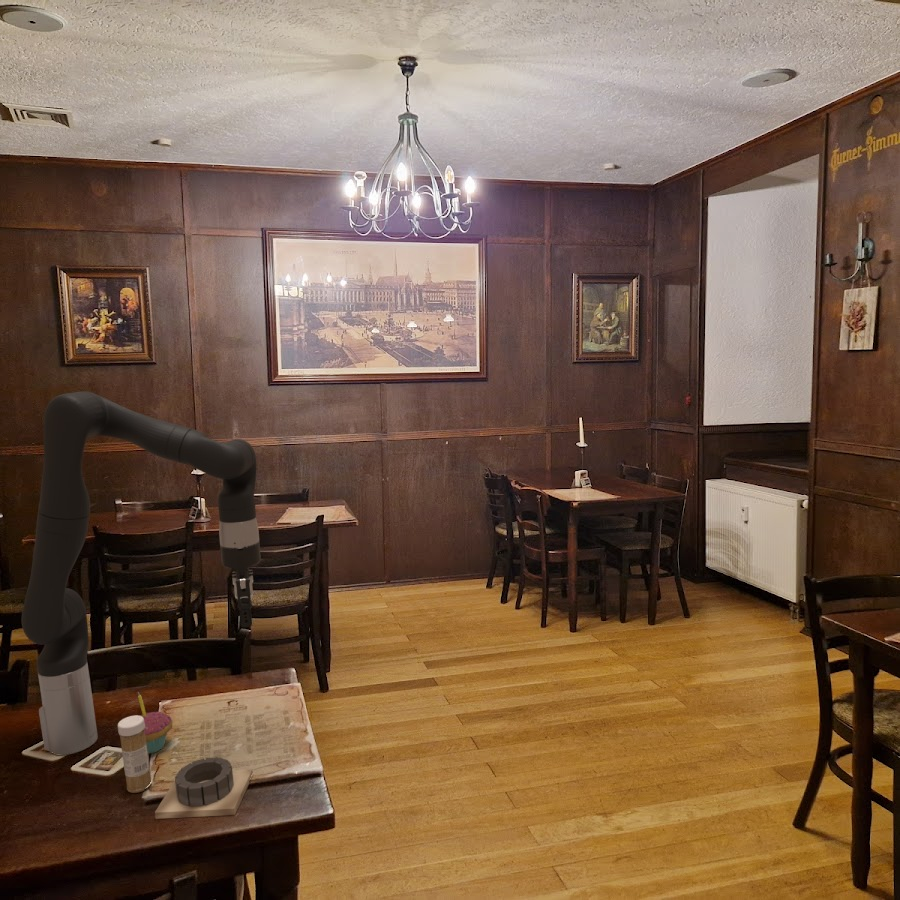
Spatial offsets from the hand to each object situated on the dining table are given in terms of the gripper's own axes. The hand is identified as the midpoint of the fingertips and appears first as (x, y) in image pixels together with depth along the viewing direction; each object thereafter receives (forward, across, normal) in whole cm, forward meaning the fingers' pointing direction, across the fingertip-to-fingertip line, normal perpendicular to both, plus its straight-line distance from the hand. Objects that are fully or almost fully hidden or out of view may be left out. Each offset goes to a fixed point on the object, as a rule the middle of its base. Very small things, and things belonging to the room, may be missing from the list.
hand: (246, 618), depth 152 cm
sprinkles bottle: (+27, +9, -22) cm, 36 cm away
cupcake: (+27, -6, -21) cm, 35 cm away
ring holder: (+27, +16, -9) cm, 33 cm away
